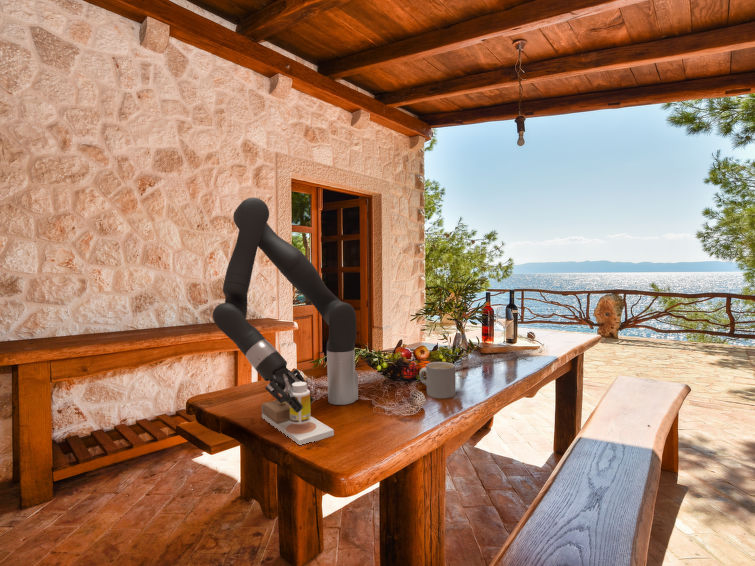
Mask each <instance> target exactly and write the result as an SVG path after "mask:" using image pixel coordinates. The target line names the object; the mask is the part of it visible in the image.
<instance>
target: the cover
mask: <svg viewBox="0 0 755 566" xmlns="http://www.w3.org/2000/svg"><path fill="white" fill-rule="evenodd" d="M262 405H263V413H264V414H265V415H266V416H268V417H269V418H270V419H272V420H273V421H274V422H276V423H279V422H283V421H286V420H290V407H289V404H288V403H286V402H283V403H280V402H279V401H278V400H277V399H274V400H271V401H266V402H263V403H262Z"/></svg>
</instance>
